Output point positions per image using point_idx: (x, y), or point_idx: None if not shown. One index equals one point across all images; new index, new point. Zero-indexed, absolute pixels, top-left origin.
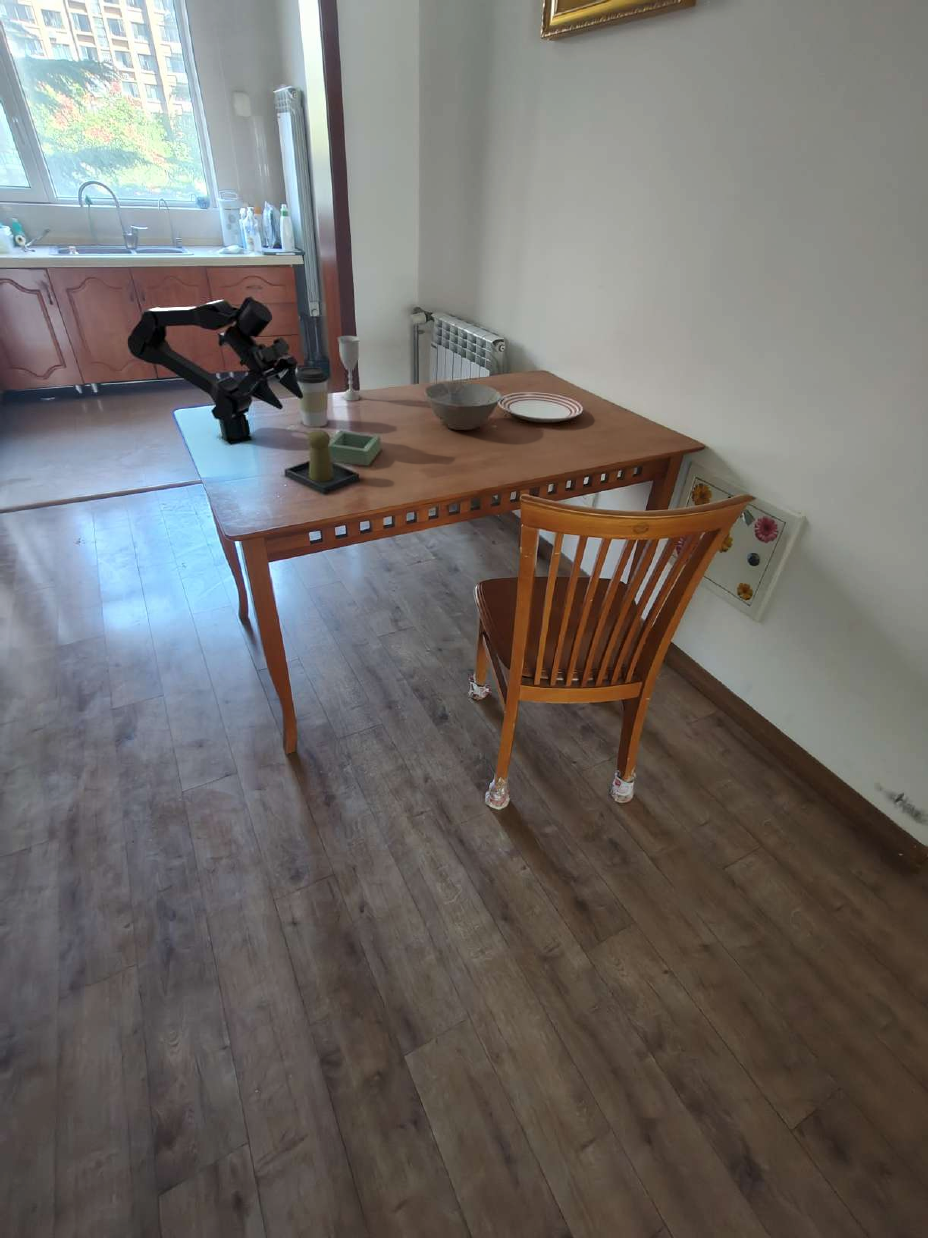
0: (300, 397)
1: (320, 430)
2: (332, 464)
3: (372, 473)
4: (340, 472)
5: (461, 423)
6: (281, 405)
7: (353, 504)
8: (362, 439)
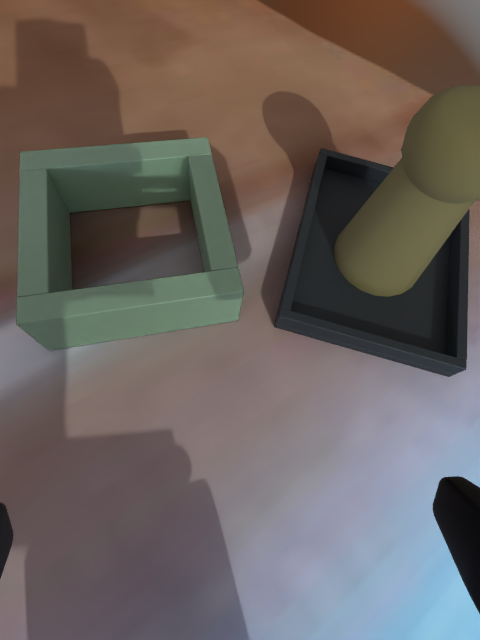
0: (6, 537)
1: (464, 109)
2: (305, 247)
3: (249, 154)
4: (316, 220)
5: None
6: (470, 485)
7: None
8: (55, 222)
